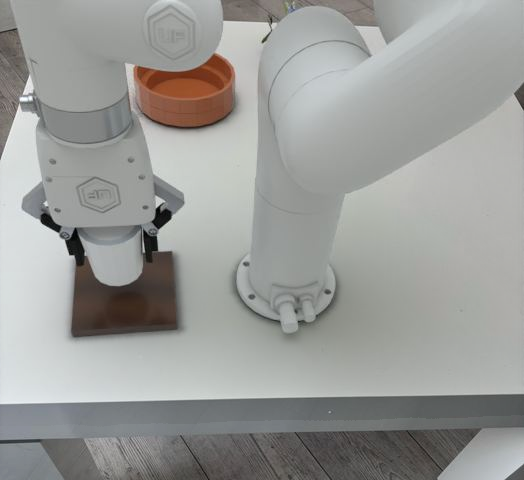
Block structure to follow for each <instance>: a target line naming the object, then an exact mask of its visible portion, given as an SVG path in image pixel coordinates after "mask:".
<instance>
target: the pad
mask: <svg viewBox="0 0 524 480" xmlns="http://www.w3.org/2000/svg"><path fill="white" fill-rule="evenodd" d="M152 253H153V263H148V262H146V256H145V252H143V268H142V273H141V274H140V276H139V277H138V278H137V279H136V280H135V281H133V282H131V283H130V284H126V285H122V286H109V285H107V284H104V283H101V282H100V281H99V280H98V279H97V278H96V277H95V275H94V272H93V270H92V267H91V265H90V262H89V260H88V257H87V255H85V259H84V265H83V266H79V267H77V264H76V263H75V266H74V267H75V269H74V282H73V297H72V313H71V326H70V327H71V328H70V334H71V336H72V338H75V337H87V336H88V337H90V336H103V335H117V334H129V333H130V334H131V333H145V332H156V331H171V330H173V331H174V330H178V313H177V299H176V286H175V283H176V282H175V270H174V256H173V250H165V251H163V250H162V251H158V252H152Z"/></svg>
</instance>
